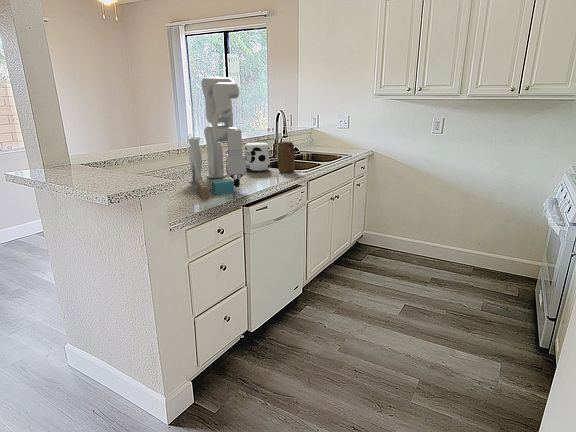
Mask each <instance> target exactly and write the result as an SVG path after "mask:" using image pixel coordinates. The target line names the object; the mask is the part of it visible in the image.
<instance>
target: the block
mask: <svg viewBox="0 0 576 432" xmlns="http://www.w3.org/2000/svg"><path fill="white" fill-rule="evenodd" d="M295 154H296V152H295V146H294V143H293V141H279V142H278V143H277V167H278V168H277V169H278V171H279V173H282V174H292V173H295V169H296V168H295V167H296V166H295V165H296V163H295Z"/></svg>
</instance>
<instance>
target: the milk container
mask: <svg viewBox="0 0 576 432" xmlns="http://www.w3.org/2000/svg"><path fill="white" fill-rule="evenodd" d="M244 146H245V147H244V150H245V152H244V153H245V154H244V157H245V163H246V171H247V172H252V173H260V172H267V171H268V170H269V169H270V167H271V160H270V158H269V157H270V156H269V155H270V154H269V153H270V151H269V144H268V143H266V142H248V143H245V144H244Z"/></svg>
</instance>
